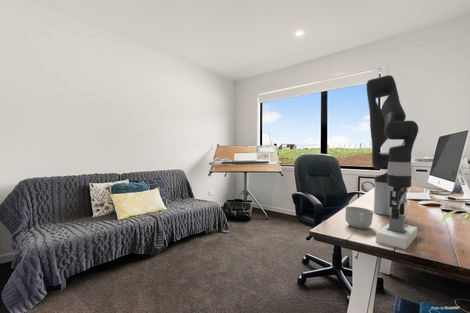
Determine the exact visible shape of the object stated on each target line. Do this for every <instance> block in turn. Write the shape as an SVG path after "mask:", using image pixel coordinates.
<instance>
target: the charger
mask: <svg viewBox="0 0 470 313" xmlns="http://www.w3.org/2000/svg"><path fill="white" fill-rule="evenodd" d="M388 216H389V218H388V219H389V220H388V224H389V231H393V232H398V233H403V234H405V224H406V215H399V219H392V218H391V215H388Z"/></svg>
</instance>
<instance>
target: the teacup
mask: <svg viewBox="0 0 470 313" xmlns="http://www.w3.org/2000/svg"><path fill="white" fill-rule="evenodd" d="M344 215H345V217H344V218H345V221H346V223H347V224H348V225H349V226H350V227H353V228H354V229H355V228H356V229H362V230H366V229H367V228H369V227H370V226H372V223H373V216H374V210H371V209H367V208H365V207H358V206H345V214H344Z"/></svg>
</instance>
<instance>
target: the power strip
mask: <svg viewBox="0 0 470 313" xmlns="http://www.w3.org/2000/svg"><path fill="white" fill-rule="evenodd" d="M417 237H418V226H414V225H413V226H412V225H409V224H407V223H405V234H403V233H398V232H393V231H389V223H387V224H386V225H385V226H382V228H380V229H379V230H377V231H376V232H375V242H376V243H379V244H384V245H386V246H387V245H388V246H391V247H394V248H399V249H402V250H406V249H408V247H409V246H410V245H411V244H412V243H413V241H414V240H415V239H416V238H417Z"/></svg>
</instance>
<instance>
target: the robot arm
mask: <svg viewBox="0 0 470 313" xmlns="http://www.w3.org/2000/svg"><path fill="white" fill-rule="evenodd" d="M366 94H367V102H368V108H369V109H368V110H369V126H370V127H369V128H370V138H371V162H372V168H374V169H376V170H387V172H385V173H383V174H379V175H376V176H374V189H373V190H374V194H373V214H374V213H375V214H378V215H382V216H390V215H391V218H392V219H399V215H402V216H405V206H406V204H407V202H408V201H407V191H408V189H409V188H412V176H413V175H412V173H413V172H412V171H413V167H412V152H413V147H414V143H415V141H416V139H417V136H418V133H419V126H418V123H417V122H415V121H414V120H406V116H407V115H406V112H405V111H404V109H403V107H402V104H401V102H400V101H401V100H400V96H399V91H398V88H397V83H396V81H395V78H394V76H392V75H382V76H378V77H374V78H371V79H368V80H367V81H366ZM383 97H384V98H385V97H386V99H385V101H384V102H383V103H382V105H381V106H379V104H378V102H377V99H379V98H383ZM387 140H394V141H395V140H397V141H400V140H403V141H402V143H401V144H399V145H394V146H391V147H389V148H388V152H380V149H381V148H382V147H383V145H384V143H386V141H387Z"/></svg>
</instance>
